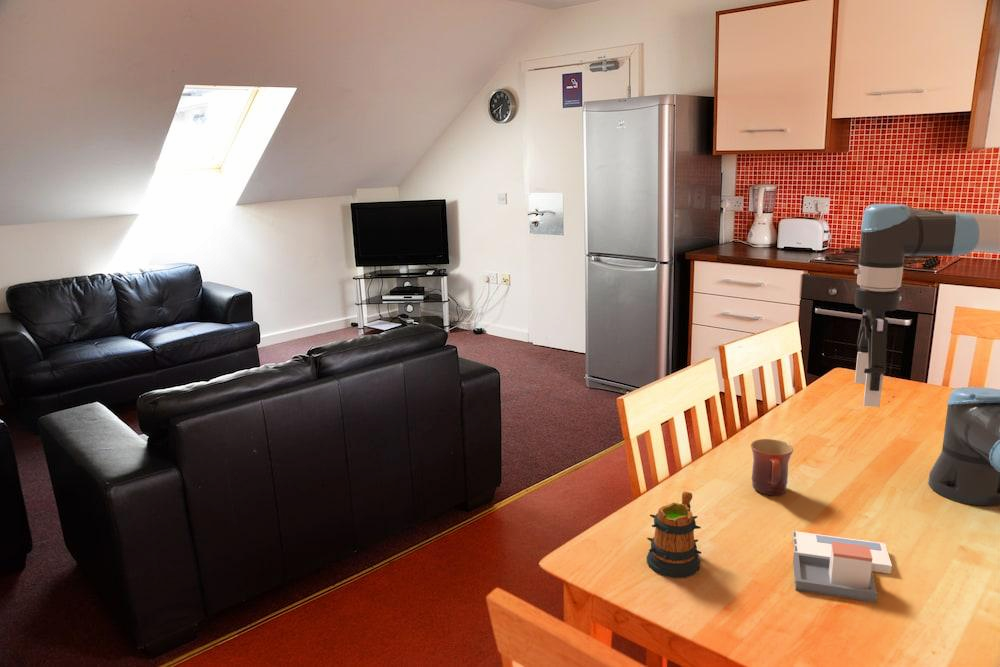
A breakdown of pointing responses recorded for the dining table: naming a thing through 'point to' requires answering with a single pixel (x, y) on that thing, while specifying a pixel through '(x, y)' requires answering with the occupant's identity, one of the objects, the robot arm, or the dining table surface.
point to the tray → (826, 579)
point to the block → (850, 565)
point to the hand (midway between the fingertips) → (866, 394)
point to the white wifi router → (822, 543)
